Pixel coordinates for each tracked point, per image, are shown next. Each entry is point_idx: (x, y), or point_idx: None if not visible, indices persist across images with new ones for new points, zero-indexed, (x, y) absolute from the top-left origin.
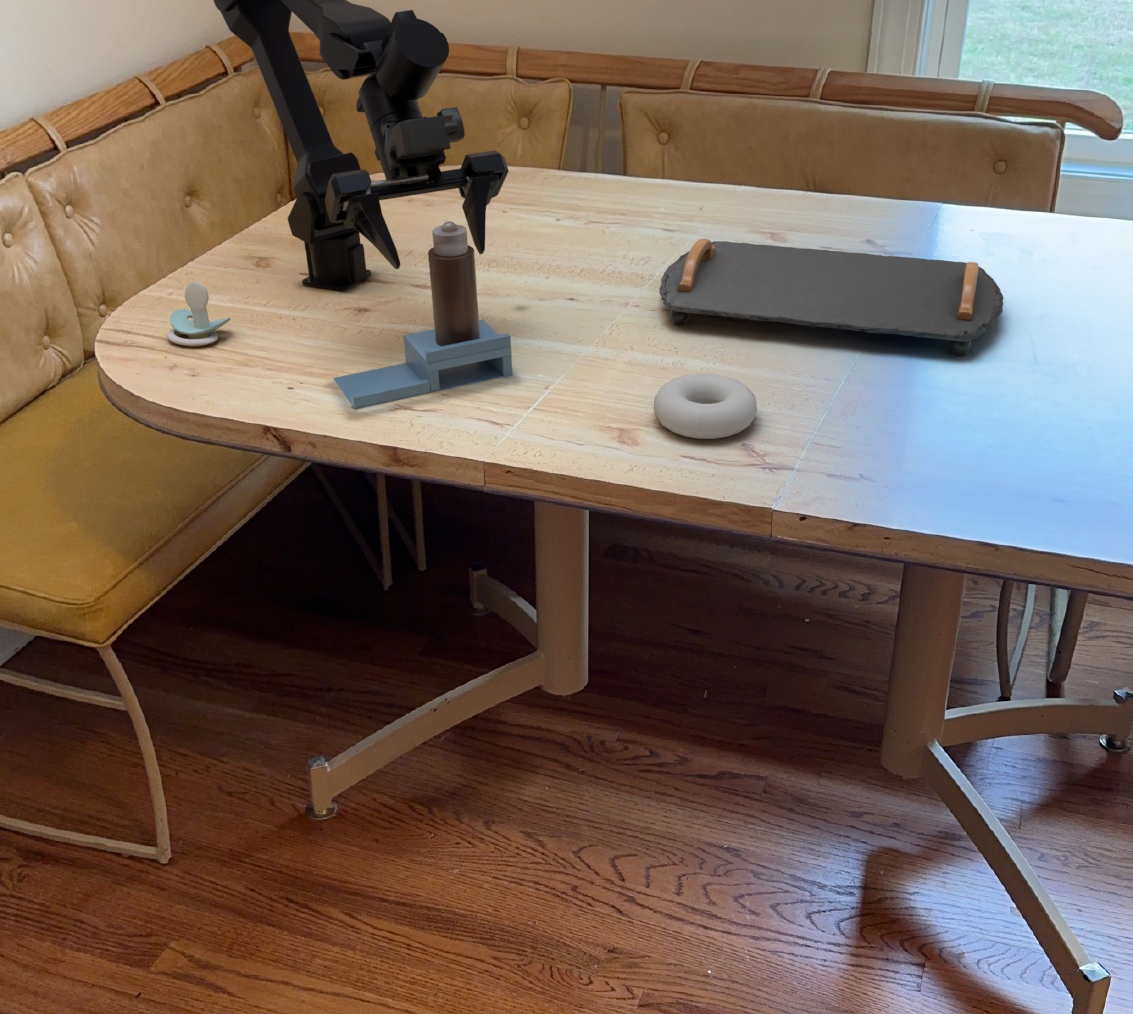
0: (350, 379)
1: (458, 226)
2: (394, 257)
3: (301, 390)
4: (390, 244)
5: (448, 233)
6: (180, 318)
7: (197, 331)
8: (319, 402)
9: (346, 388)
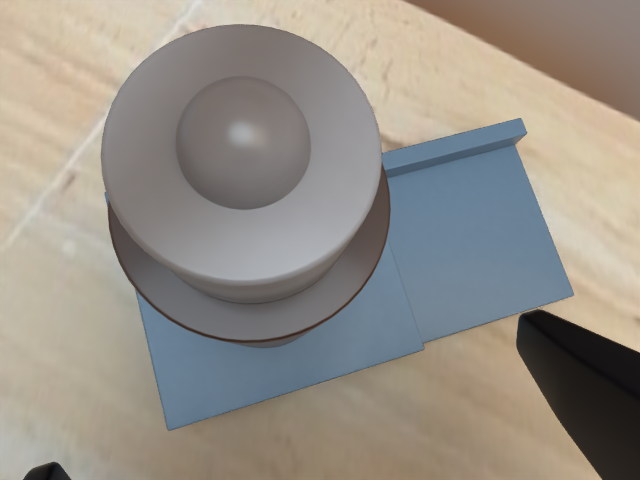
0: (533, 276)
1: (160, 203)
2: (565, 327)
3: (632, 283)
4: (627, 364)
5: (260, 62)
6: None
7: None
8: (583, 215)
9: (537, 230)
